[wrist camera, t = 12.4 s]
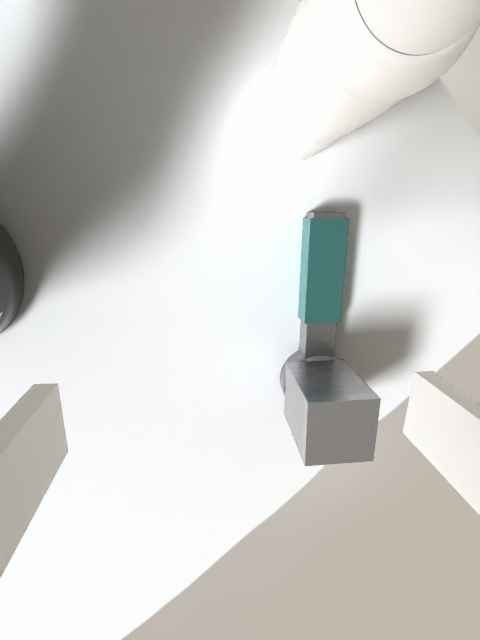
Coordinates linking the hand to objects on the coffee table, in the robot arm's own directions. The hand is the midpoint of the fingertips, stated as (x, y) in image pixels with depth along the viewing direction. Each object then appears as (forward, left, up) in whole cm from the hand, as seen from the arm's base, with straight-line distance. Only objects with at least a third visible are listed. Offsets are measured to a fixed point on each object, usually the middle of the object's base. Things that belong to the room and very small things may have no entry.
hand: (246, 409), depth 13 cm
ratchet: (+10, -3, -23) cm, 25 cm away
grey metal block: (+9, -10, -20) cm, 25 cm away
